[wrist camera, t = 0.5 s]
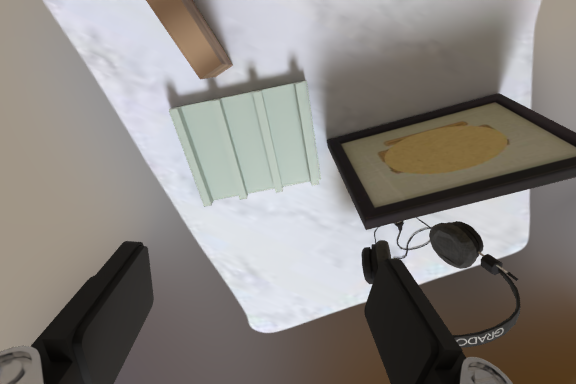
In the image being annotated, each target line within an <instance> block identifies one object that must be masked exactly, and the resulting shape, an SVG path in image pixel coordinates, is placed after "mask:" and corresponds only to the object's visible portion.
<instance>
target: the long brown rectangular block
mask: <svg viewBox="0 0 576 384" xmlns="http://www.w3.org/2000/svg"><path fill="white" fill-rule="evenodd" d="M146 1H147V2H148V4H149V5H150V7H151V8H152V10H153V11H154V13H155V14H156V16H157V17H158V18H159V20H160V21H161V23H162V24H163V26H164V27H165V29H166V30H167V32H168V33H169V35H170V36H171V37H172V39H173V40H174V42H175V43H176V45H177V46H178V48H179V49H180V51H181V52H182V54H183V55H184V56H185V58H186V59H187V61H188V62H189V64H190V65H191V67H192V68H193V70H194V71H195V72H196V74H197V75H198V77H199V78H200V79H205V78H211V77H216V76H218V75H219V74H221V73H222V72H224V71H225V70H227V69H228V68H230V67H231V66H232V65H233V64H232V63H231V61H230V60H229V58H228V56H227V55H226V53H225V51H224V50H223V48H222V47H221V45H220V43H219V42H218V40H217V39H216V37H215V35H214V34H213V32H212V31H211V29H210V27H209V26H208V24H207V22H206V21H205V19H204V18H203V16H202V14H201V13H200V11H199V10H198V8H197V6H196V5H195V3H194V1H193V0H146Z"/></svg>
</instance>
